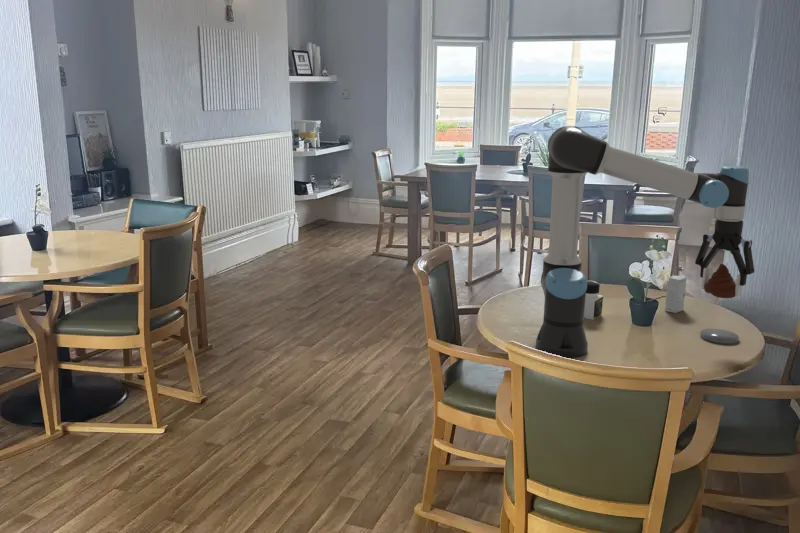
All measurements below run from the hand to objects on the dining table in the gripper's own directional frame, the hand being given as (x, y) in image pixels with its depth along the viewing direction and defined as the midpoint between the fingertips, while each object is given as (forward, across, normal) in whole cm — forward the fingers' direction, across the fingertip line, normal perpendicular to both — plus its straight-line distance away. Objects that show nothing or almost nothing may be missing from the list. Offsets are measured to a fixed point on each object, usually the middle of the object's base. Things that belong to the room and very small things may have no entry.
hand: (721, 291), depth 212 cm
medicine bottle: (+16, +40, +9) cm, 44 cm away
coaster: (+16, +1, -5) cm, 17 cm away
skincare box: (+17, +25, -20) cm, 36 cm away
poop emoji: (+1, 0, 0) cm, 1 cm away
